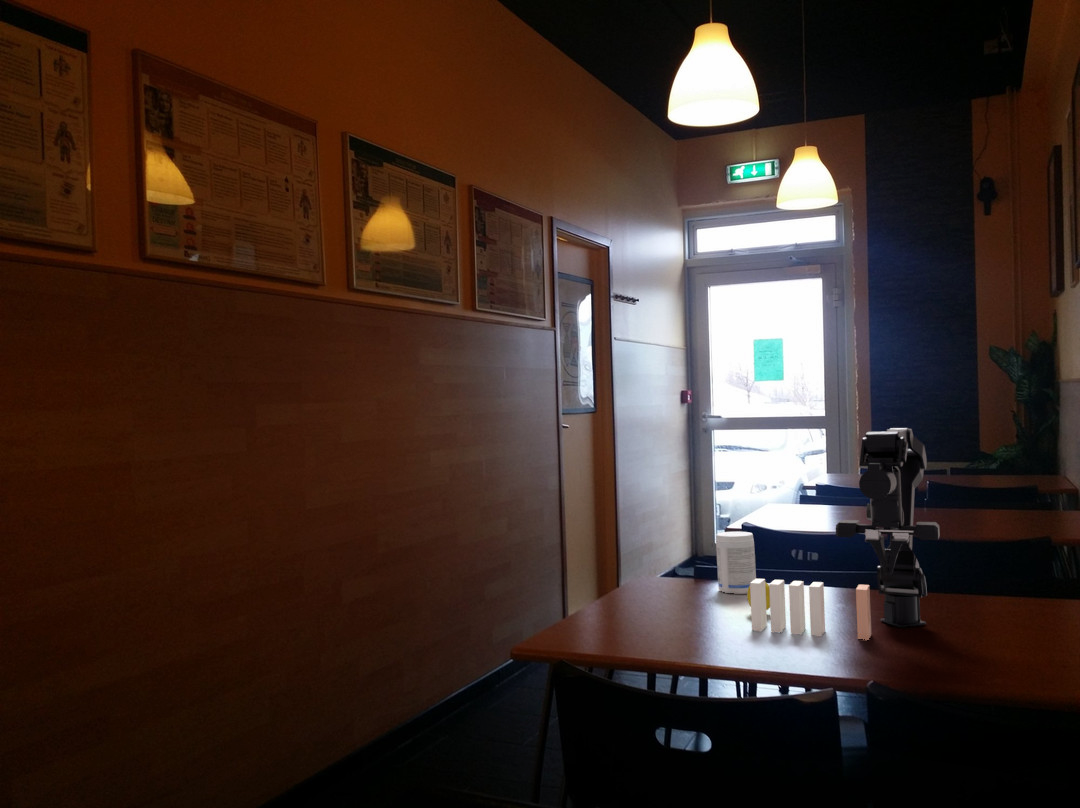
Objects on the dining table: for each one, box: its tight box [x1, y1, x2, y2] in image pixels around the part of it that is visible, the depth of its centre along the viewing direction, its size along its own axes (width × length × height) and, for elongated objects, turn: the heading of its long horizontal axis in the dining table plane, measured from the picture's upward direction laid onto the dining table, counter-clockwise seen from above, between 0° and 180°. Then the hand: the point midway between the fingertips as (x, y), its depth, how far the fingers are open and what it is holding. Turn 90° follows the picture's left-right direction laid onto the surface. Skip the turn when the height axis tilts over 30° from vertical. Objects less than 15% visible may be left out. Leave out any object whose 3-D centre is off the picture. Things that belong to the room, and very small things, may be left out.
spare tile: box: [855, 584, 872, 641], centre depth 172 cm, size 2×5×10 cm, turn 153°
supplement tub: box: [715, 531, 757, 595], centre depth 219 cm, size 10×10×15 cm
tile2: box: [808, 581, 826, 637], centre depth 176 cm, size 2×5×10 cm, turn 152°
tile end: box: [750, 578, 768, 632], centre depth 182 cm, size 2×5×10 cm, turn 152°
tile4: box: [768, 579, 787, 633], centre depth 180 cm, size 2×5×10 cm, turn 152°
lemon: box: [746, 581, 770, 611], centre depth 194 cm, size 6×6×8 cm
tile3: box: [788, 580, 806, 635], centre depth 178 cm, size 2×5×10 cm, turn 153°
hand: (888, 573), depth 170 cm, fingers closed
